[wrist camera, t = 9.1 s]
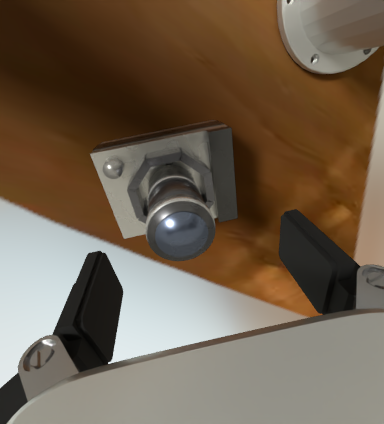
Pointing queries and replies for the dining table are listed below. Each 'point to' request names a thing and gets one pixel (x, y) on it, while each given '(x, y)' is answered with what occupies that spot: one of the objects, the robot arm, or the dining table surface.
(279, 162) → the dining table surface
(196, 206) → the lens
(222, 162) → the grey striped block
